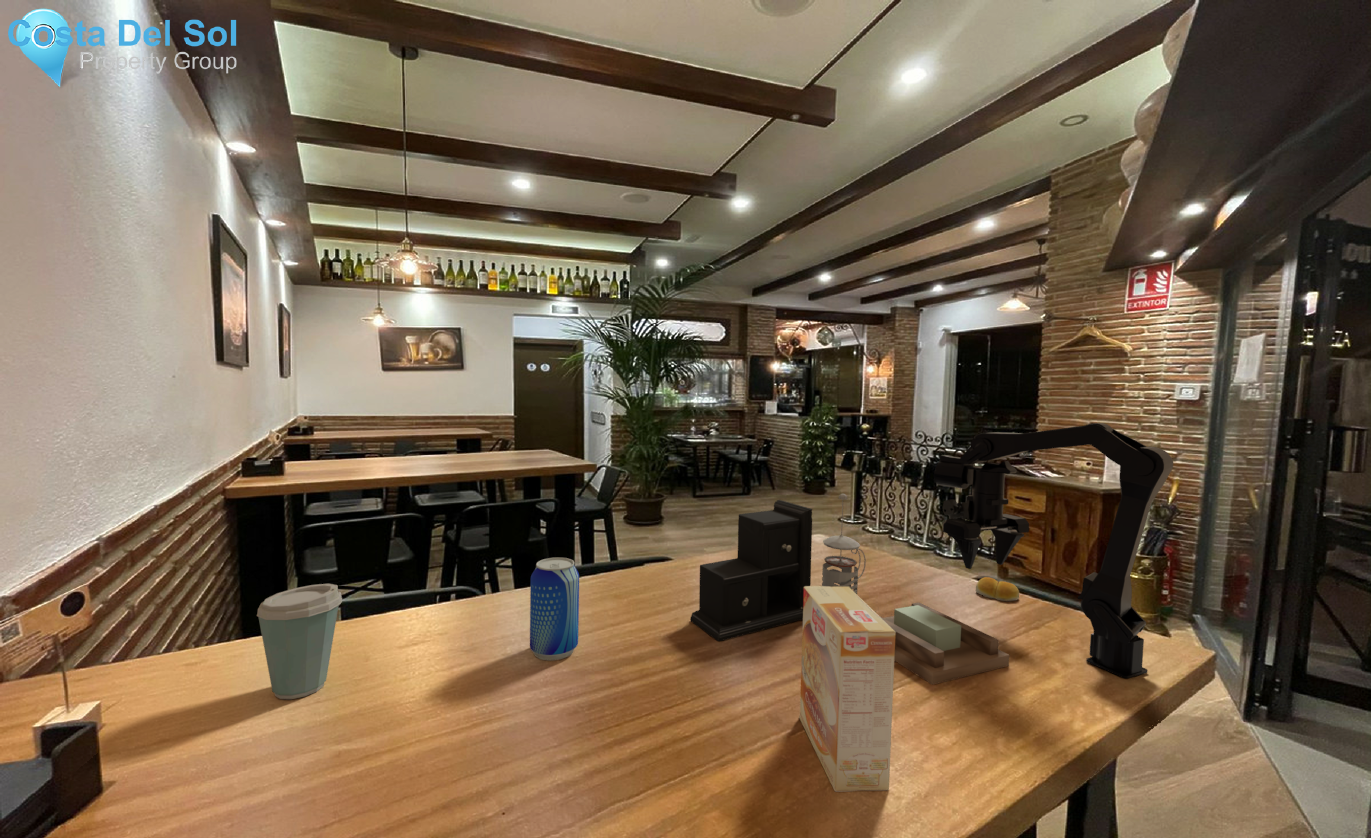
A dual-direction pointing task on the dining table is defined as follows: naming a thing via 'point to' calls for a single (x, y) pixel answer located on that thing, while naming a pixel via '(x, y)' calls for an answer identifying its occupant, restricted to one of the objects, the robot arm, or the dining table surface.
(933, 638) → the pale green block
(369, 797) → the dining table surface
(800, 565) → the black drawer cabinet
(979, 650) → the brown wooden stand
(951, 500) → the robot arm
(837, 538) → the french press
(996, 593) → the bread roll
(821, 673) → the coffeecake box
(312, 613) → the disposable coffee cup
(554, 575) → the beer can
